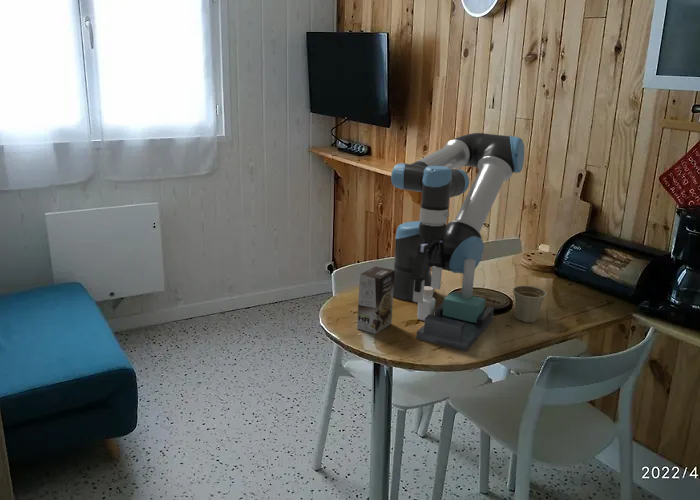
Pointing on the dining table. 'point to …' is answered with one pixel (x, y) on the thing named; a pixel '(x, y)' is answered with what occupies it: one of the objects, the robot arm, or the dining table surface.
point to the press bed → (467, 335)
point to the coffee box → (375, 299)
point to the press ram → (464, 298)
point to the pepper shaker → (426, 304)
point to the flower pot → (528, 302)
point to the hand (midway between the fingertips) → (426, 294)
